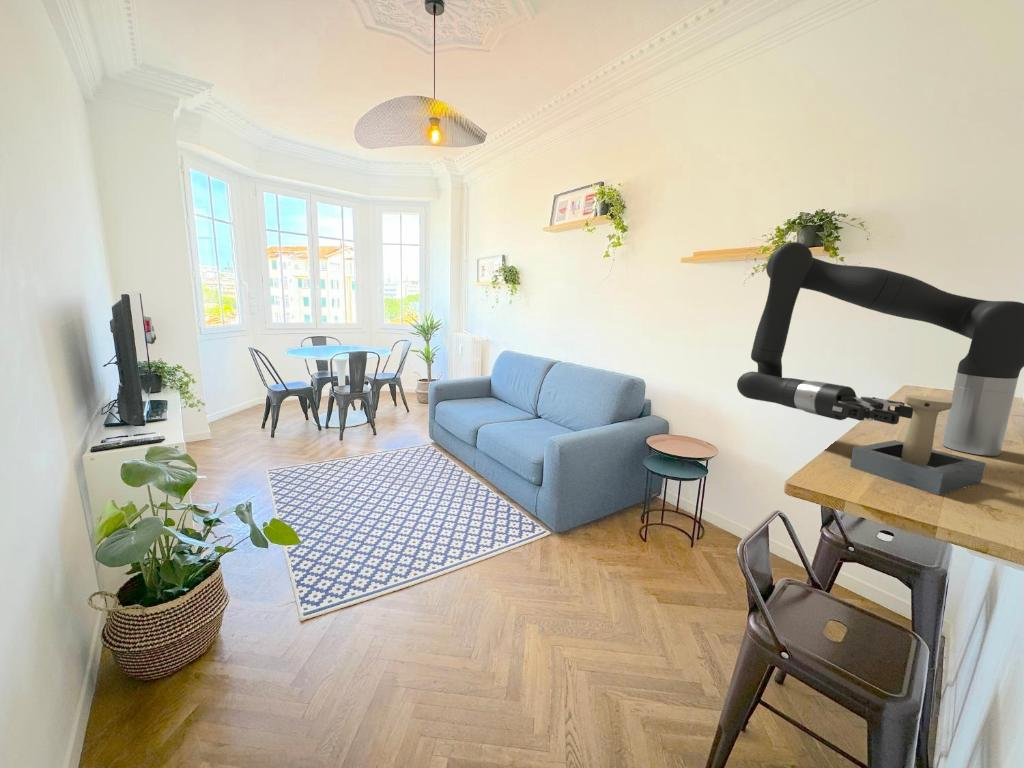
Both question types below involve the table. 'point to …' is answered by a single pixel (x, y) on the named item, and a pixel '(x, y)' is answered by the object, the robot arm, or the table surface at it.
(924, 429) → the handle
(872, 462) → the housing
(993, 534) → the table surface
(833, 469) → the table surface
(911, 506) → the table surface
